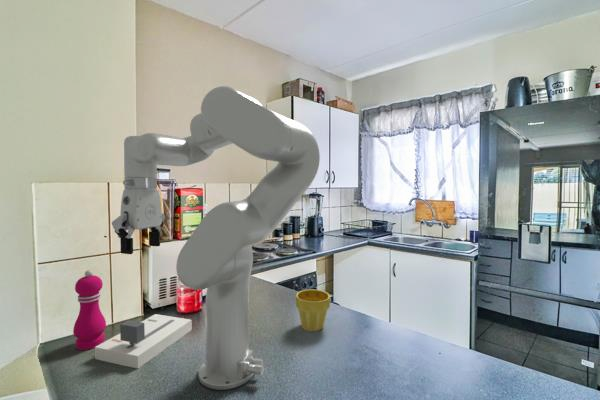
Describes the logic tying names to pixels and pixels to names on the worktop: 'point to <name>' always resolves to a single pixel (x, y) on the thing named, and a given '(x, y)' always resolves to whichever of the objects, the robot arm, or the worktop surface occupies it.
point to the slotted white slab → (144, 341)
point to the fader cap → (132, 331)
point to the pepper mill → (89, 313)
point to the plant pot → (312, 308)
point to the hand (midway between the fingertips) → (141, 249)
